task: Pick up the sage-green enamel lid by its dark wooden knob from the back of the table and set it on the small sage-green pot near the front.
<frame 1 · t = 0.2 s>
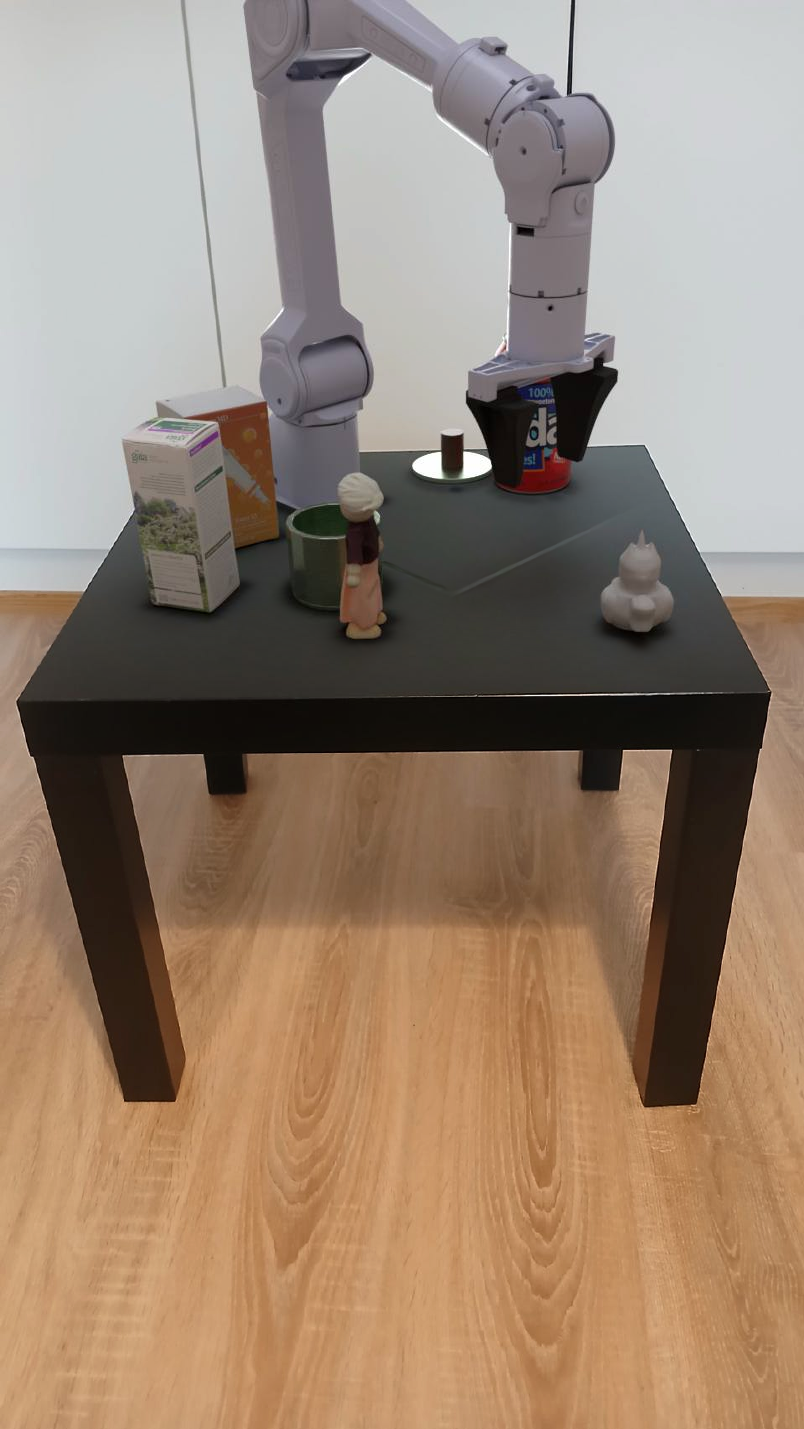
hand: (539, 471, 84), 10 cm above the table, tool pointing down, fingers open, 7 cm apart
pot lid: (452, 469, 111), point 1 cm above the table
horned animal figurine: (634, 631, 82), on the table
pot: (337, 590, 89), on the table
grandmother figurine: (364, 631, 84), on the table
syrup box: (196, 598, 89), on the table
small box: (228, 539, 99), on the table
soda can: (531, 488, 108), on the table
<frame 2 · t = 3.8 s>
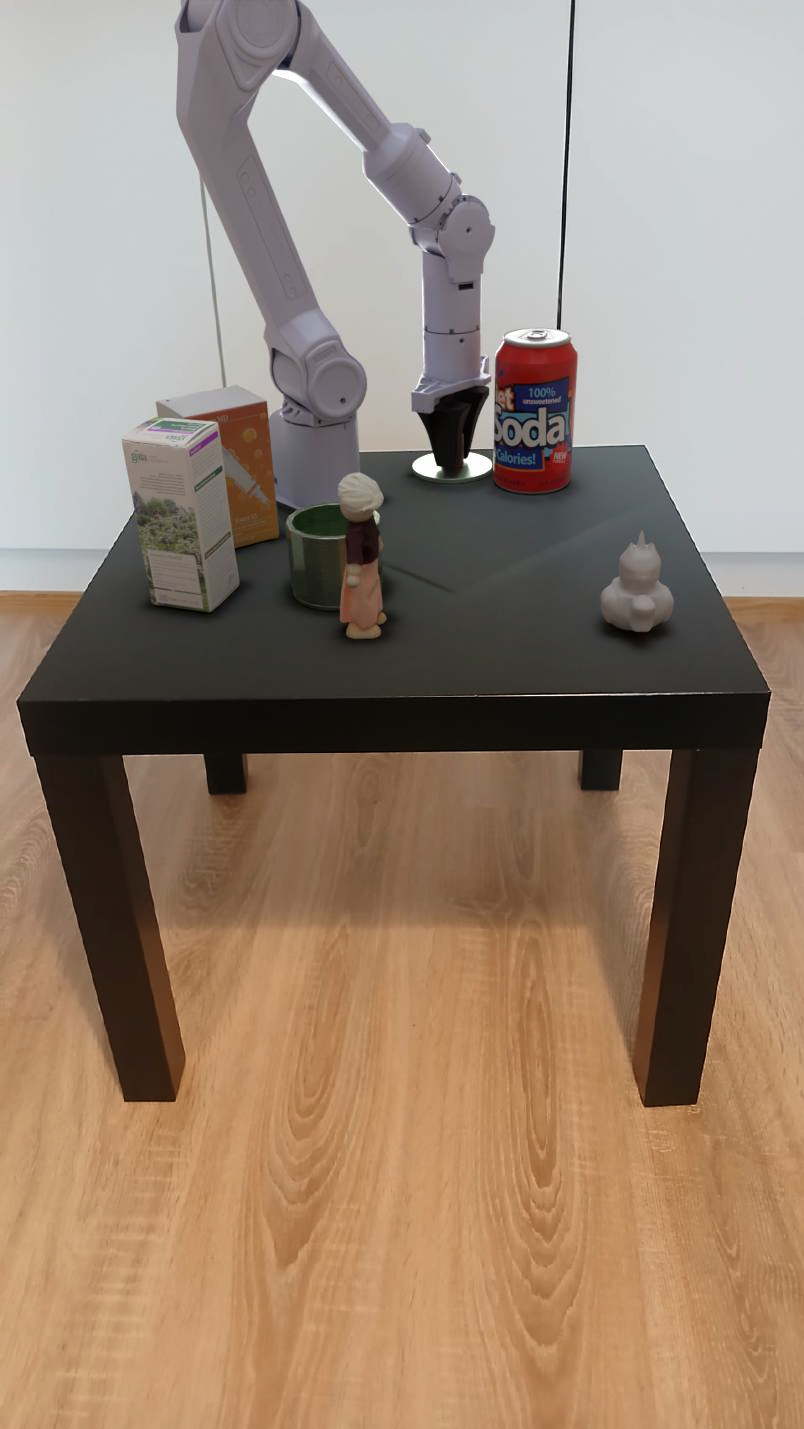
hand: (452, 461, 111), 1 cm above the table, tool pointing down, fingers closed on pot lid, 2 cm apart
pot lid: (452, 469, 111), point 1 cm above the table, touching gripper
everything else where it was.
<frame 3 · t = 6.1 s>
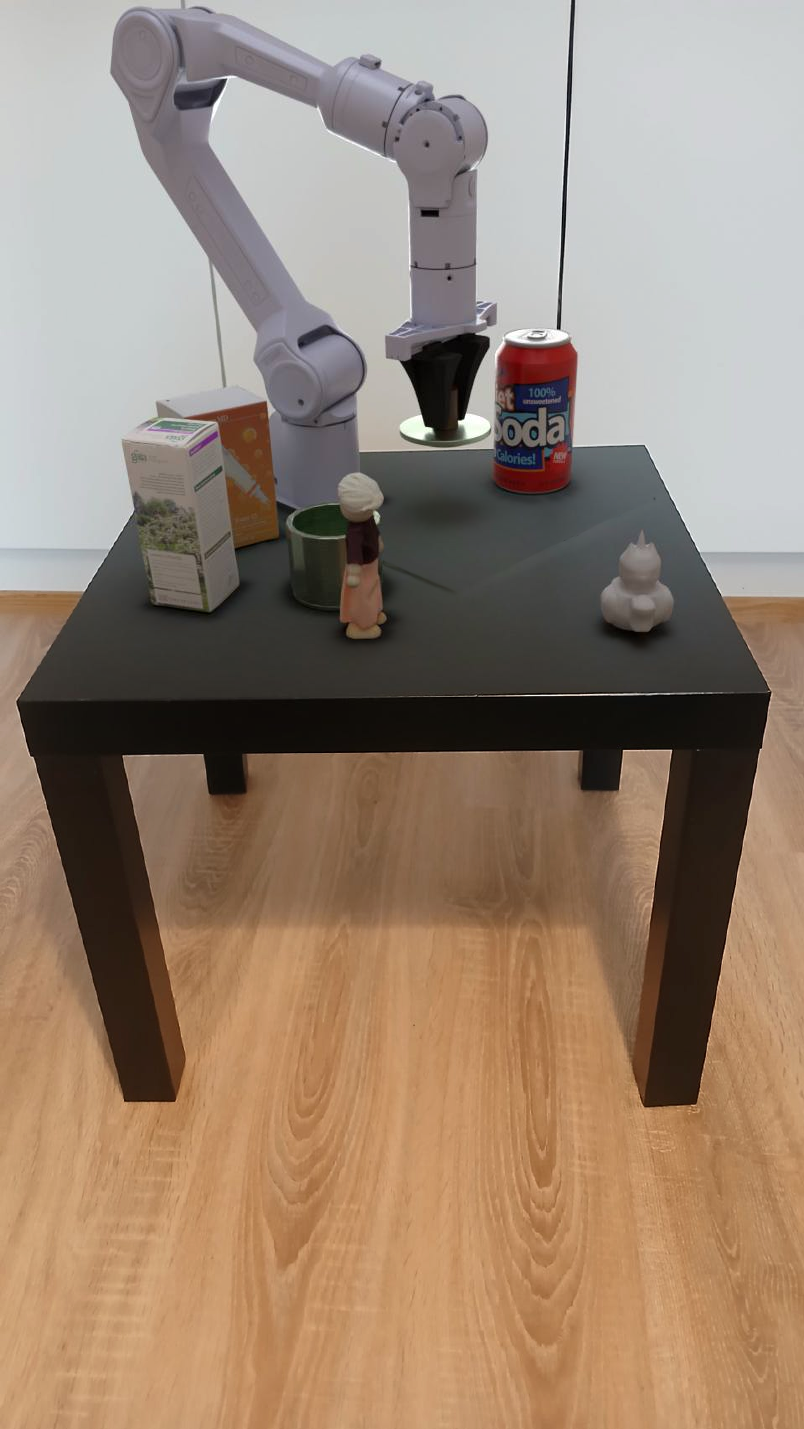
hand: (444, 422, 96), 9 cm above the table, tool pointing down, fingers closed on pot lid, 2 cm apart
pot lid: (445, 431, 97), point 9 cm above the table, touching gripper
everything else where it was.
when the fingers open (7 cm above the table, at t = 8.6 s): pot lid stays where it is, resting on pot.
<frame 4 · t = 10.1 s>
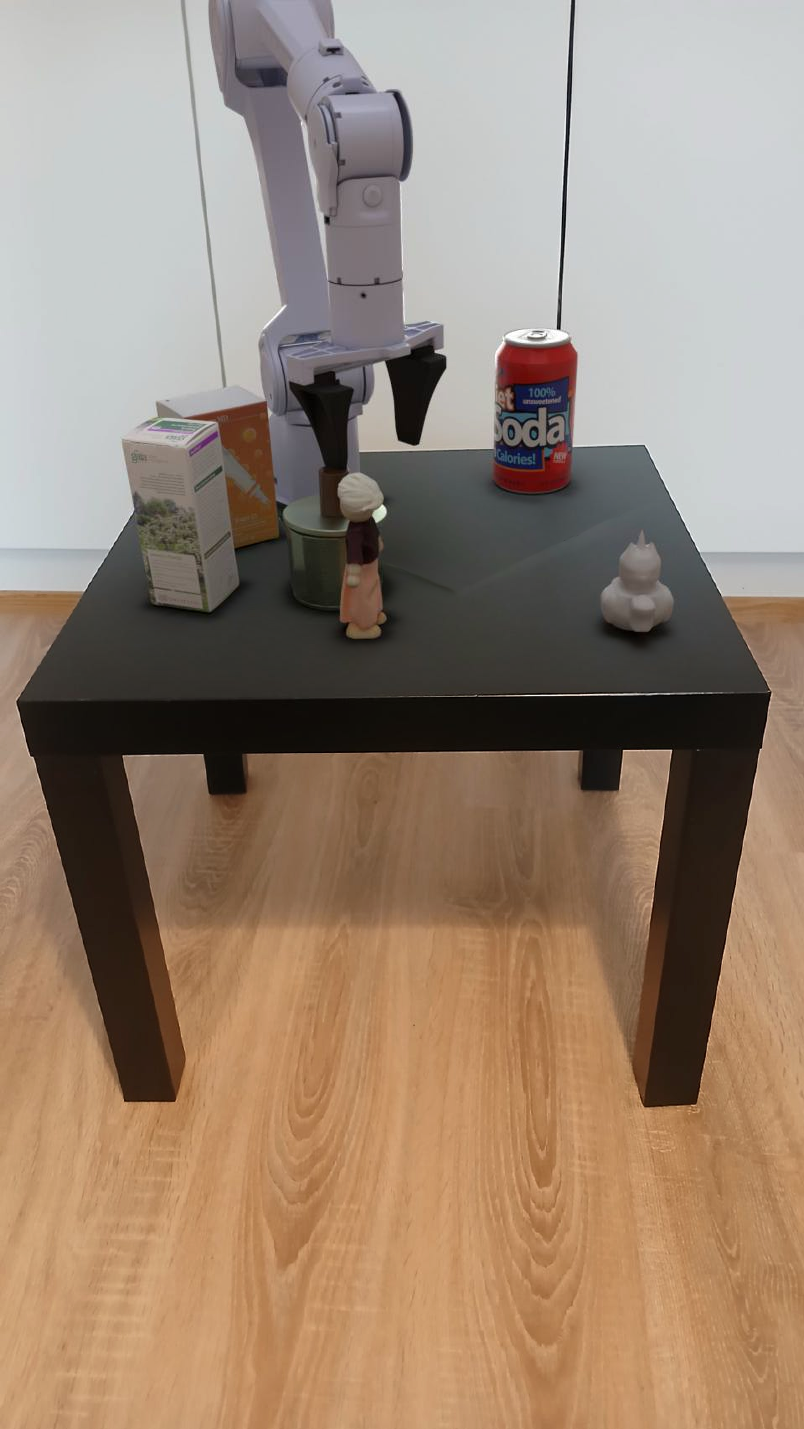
hand: (373, 454, 87), 10 cm above the table, tool pointing down, fingers open, 7 cm apart
pot lid: (335, 517, 86), point 7 cm above the table, touching gripper, pot
everything else where it was.
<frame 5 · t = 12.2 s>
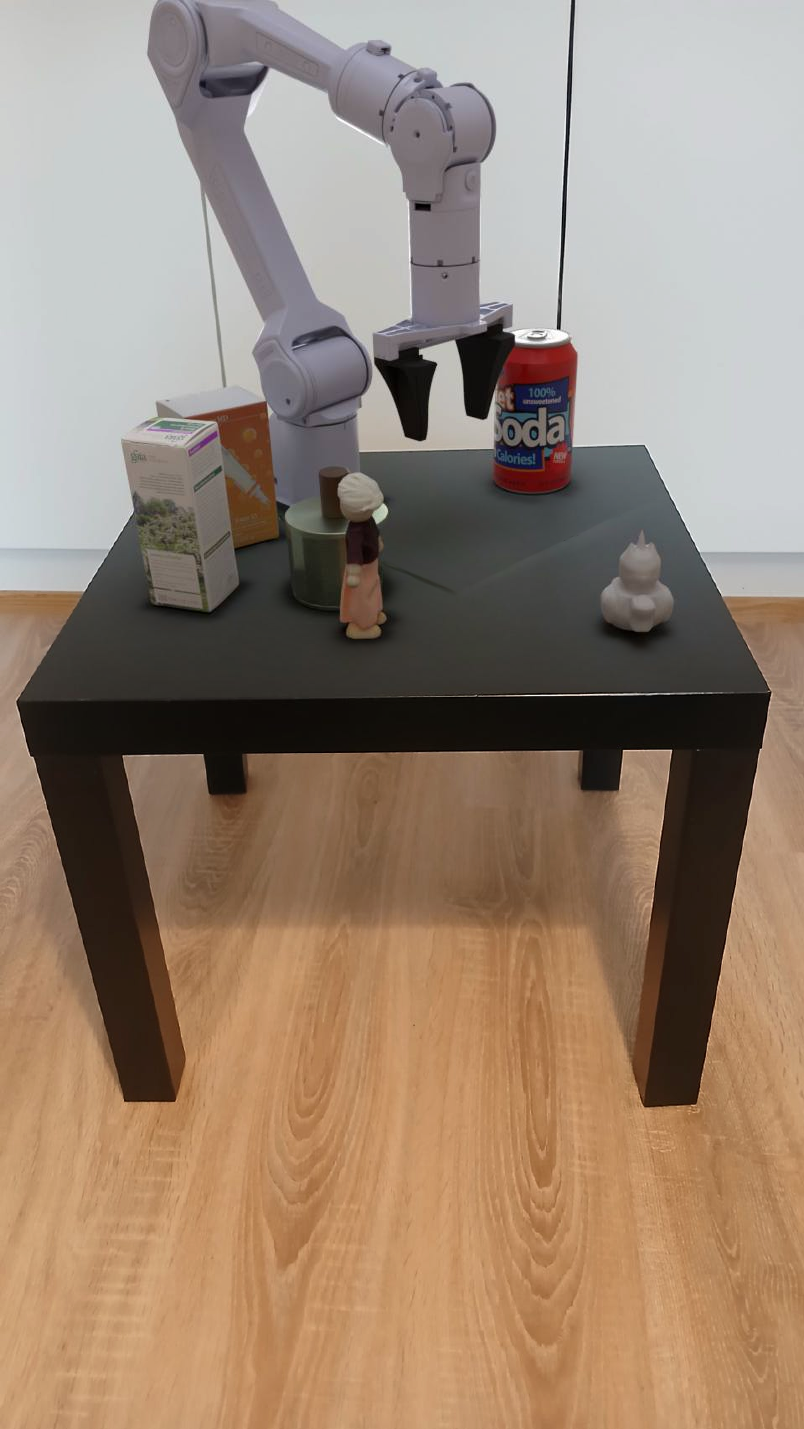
hand: (446, 427, 92), 10 cm above the table, tool pointing down, fingers open, 7 cm apart
pot lid: (336, 518, 86), point 6 cm above the table, touching pot
everything else where it was.
at the end: pot lid 0.3 cm off-centre on the pot, point 6.4 cm above the pot's base; pot lid tilted 0° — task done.
